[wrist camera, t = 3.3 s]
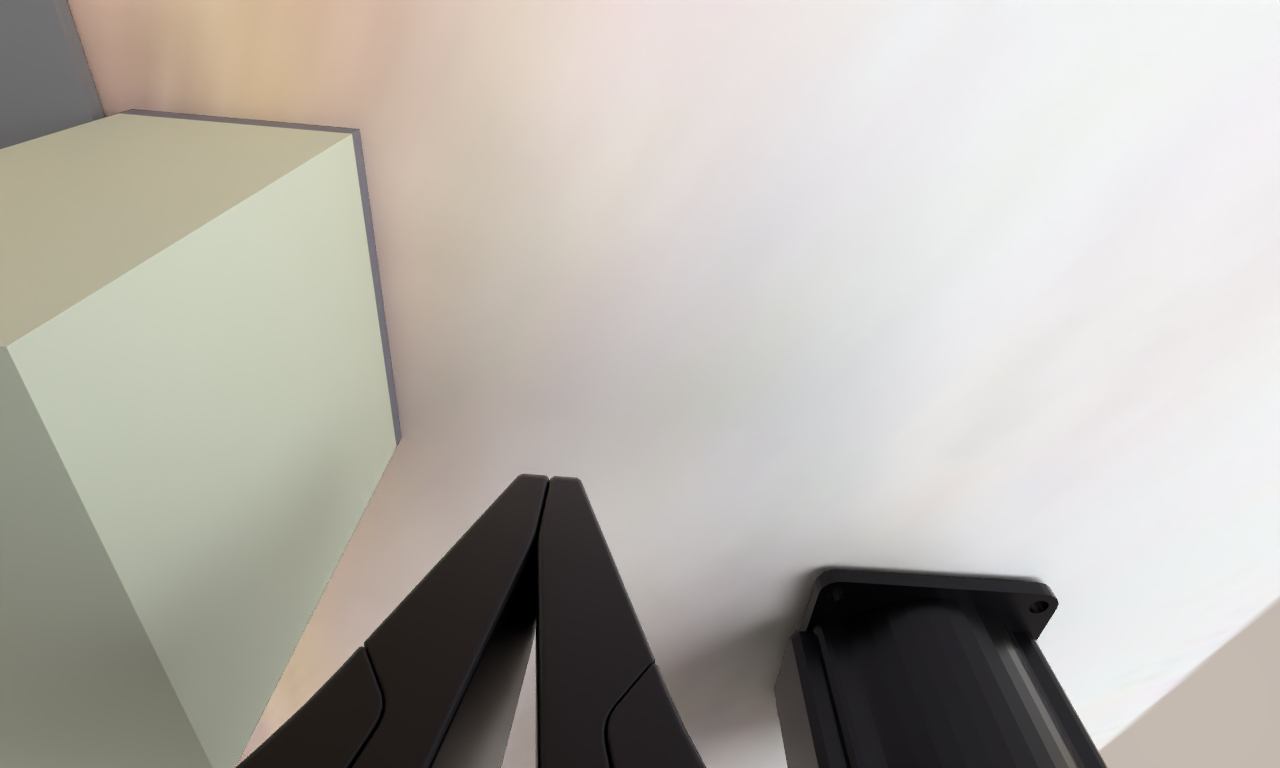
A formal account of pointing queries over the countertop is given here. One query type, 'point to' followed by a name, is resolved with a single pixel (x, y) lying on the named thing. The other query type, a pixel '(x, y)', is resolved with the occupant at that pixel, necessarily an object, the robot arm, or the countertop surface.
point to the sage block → (177, 425)
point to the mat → (42, 72)
